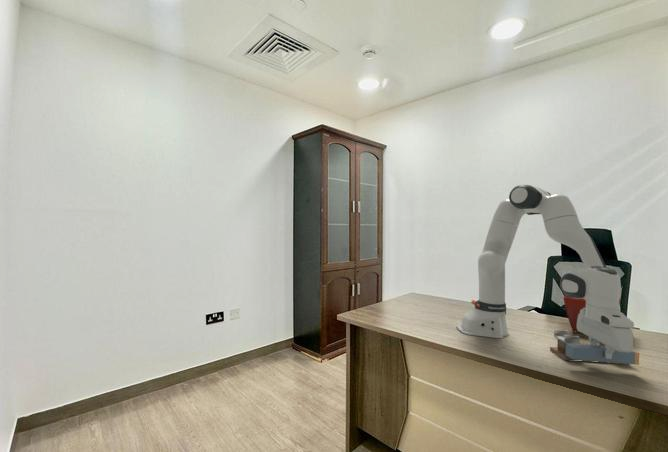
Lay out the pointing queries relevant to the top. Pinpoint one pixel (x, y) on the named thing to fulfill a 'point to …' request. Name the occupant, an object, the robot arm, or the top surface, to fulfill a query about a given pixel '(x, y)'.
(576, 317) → the plant pot
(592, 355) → the rail
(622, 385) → the top surface
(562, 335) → the stand
